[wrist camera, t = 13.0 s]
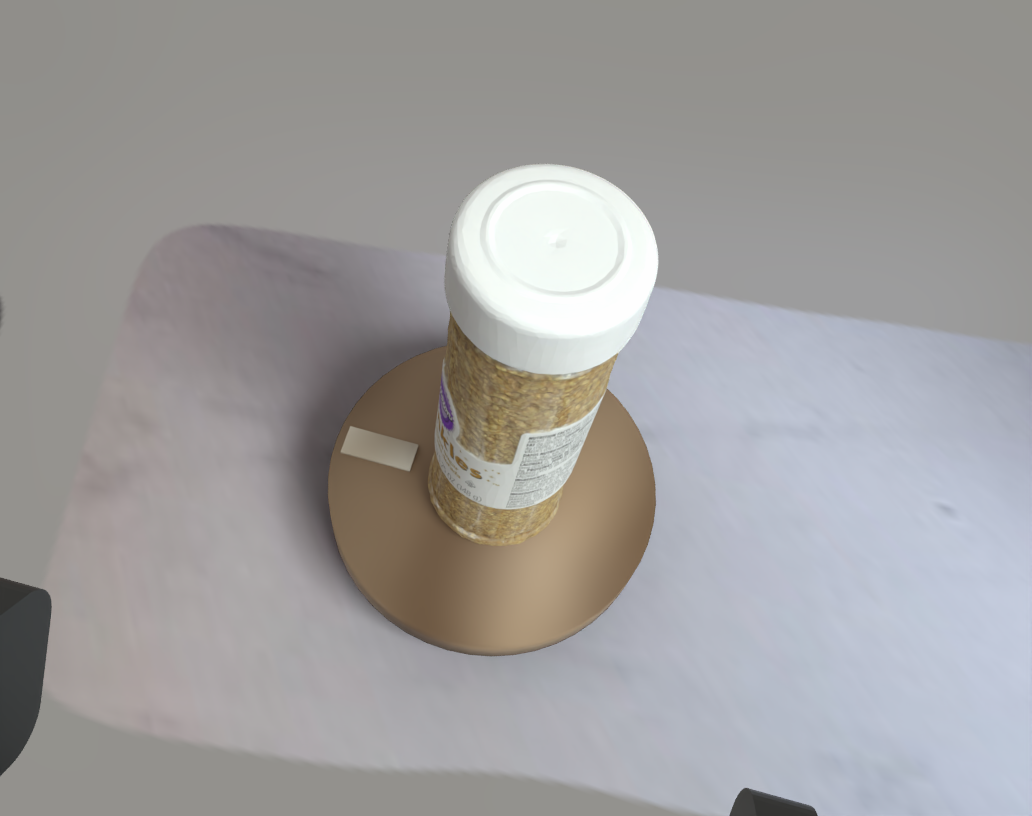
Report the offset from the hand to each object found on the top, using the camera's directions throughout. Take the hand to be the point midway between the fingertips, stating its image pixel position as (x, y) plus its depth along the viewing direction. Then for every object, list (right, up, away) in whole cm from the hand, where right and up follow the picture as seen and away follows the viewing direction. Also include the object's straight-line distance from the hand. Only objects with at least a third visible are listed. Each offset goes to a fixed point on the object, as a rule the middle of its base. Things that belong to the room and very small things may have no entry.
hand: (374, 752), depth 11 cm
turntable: (+1, +1, +23) cm, 23 cm away
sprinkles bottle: (+1, +1, +21) cm, 21 cm away
